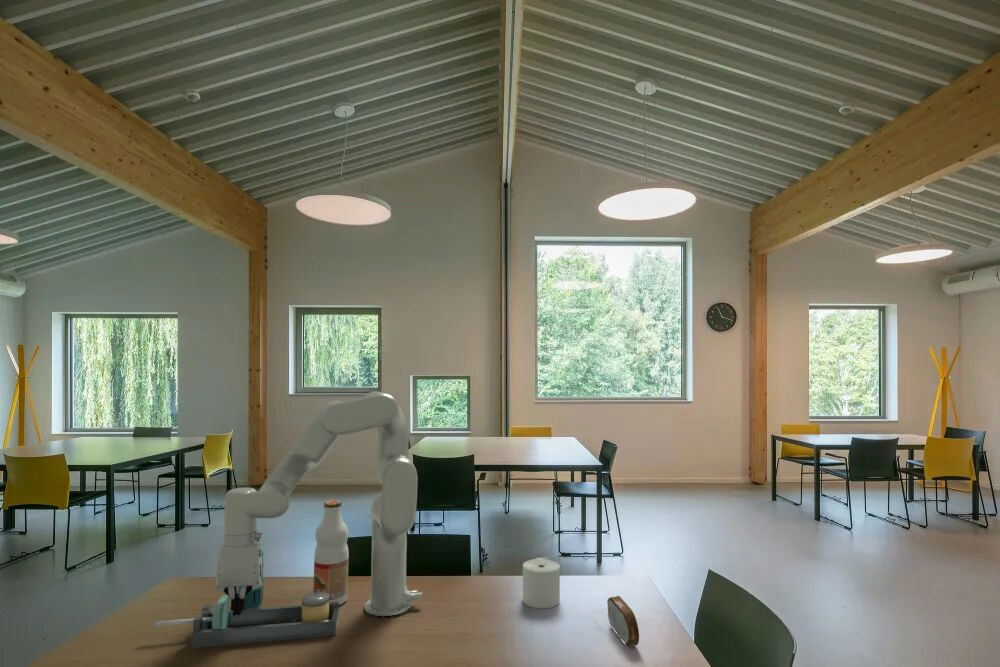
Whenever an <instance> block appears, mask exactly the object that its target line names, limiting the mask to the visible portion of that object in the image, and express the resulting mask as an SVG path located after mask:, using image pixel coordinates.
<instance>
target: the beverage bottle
mask: <svg viewBox="0 0 1000 667" xmlns="http://www.w3.org/2000/svg"><path fill="white" fill-rule="evenodd" d="M256 541H259V542H261V541H260V538H259V539H257V540H256ZM261 555H262V576H261V582H262V585H261V587H260V588H258V589H254V590H251V591H250V592H249V593H248V594H247V595H246V596H245V609H256V608H261V606H262V605H263V602H264V601H263V600H264V566H265V565H264V550H263V549H262V548H261ZM240 591H241V586H238V587H237V593H238V594H239V595H240Z"/></svg>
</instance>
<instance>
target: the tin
mask: <svg viewBox="0 0 1000 667" xmlns="http://www.w3.org/2000/svg"><path fill="white" fill-rule="evenodd" d="M606 602H607V617H608V621H609V625H610V627H611V626H612V627H613V628H614V629H615V631H616V632H617V634H618V635H619V636H620V638H621V639H622V640H623V641H624V642H625V644H626V646H625V647H633V646H635V645H636V646H638V644H639V642H640V631H639V624H638V621H637V618H636V614H635V613H634V611H633V609H632V608H631V607H629V605H628V604H627V603H626V602H625V600H624V599H623V598H622V597H621V596H619V595H617V596H611V597H609V598H608V599H607V601H606ZM612 627H611V628H612ZM617 634H616V635H617ZM620 638H619V639H620ZM632 645H633V646H632Z"/></svg>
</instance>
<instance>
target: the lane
mask: <svg viewBox="0 0 1000 667" xmlns="http://www.w3.org/2000/svg"><path fill="white" fill-rule="evenodd" d="M211 610H212V604H211V603H207V604H204V605H203V607H202V608H201V614H200V615H196V616H195V617H194V618H195V619H194V618H193V619H194V620H193V623H192V632H191V633H190V635H191V636H190V649H201V648H202V649H203V648H210V647H211V648H212V647H223V646H236V645H245V644H246V645H247V644H256V643H268V642H279V641H289V640H290V641H291V640H302V639H312V638H325V637H334V636H333V635H337V630H336V629H338V624H339V618H340V606H339V602H333V603H329V617H332V618H330V619H329V620H319V621H307V622H302V604H298V605H297V604H296V605H294V604H293V605H284V606H282V605H281V606H270V607H258V608H256V609H244V610H243V611H242V613H241V614H240V615H235V616H233V611H231V609H229V616H228V627H227V628H223V629H212V622H203V618H207V617H212V616H213V611H211ZM338 617H339V618H338ZM294 620H300V621H294ZM286 621H288V622H286ZM284 622H285V623H284ZM337 623H338V624H337ZM248 625H249V626H248Z"/></svg>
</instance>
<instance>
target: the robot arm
mask: <svg viewBox="0 0 1000 667" xmlns="http://www.w3.org/2000/svg"><path fill="white" fill-rule="evenodd" d="M375 428H376V430H377V459H376V467H375V475H376V479H377V481H378V482H379V484H380V485H381V492H380V493H379V494H378V495H377V496H376V497H375V498H374V499H373V501H372V502H371V503H372V504H371V506H370V524H371V564H370V565H371V568H370V569H371V572H370V574H371V575H370V577H371V578H370V580H371V581H370V585H371V586H370V599H368V600H367V601H366V602H365V604H364V610H365V612H366V613H367V614H368V613H369V614H368V615H370V614H371V615H370V616H373V615H375V616H374V617H377V616H391V615H397V614H400V613H403V612H405V611H406V612H408V611H409V610H410V609H411V607H412V601H423V592H418V589H415V590H409V589H408V586H407V548H408V547H407V545H408V544H407V543H408V540H407V538H408V537H407V533H408V532H409V531H410V530H411V529H412V527H413V526H414V523H415V520H416V516H417V515H416V514H417V504H418V502H417V501H418V486H419V485H418V484H419V483H418V478H419V477H418V472H417V468H416V467H415V464H414V463H413V462H412V461H411V460H409V440H410V439H409V426H408V421H407V418H406V415H405V414H404V412H403V410H402V408H401V406H399V405H398V401H397V400H396V398H394V397H393V395H391V394H388V393H387V392H382V391H376V390H375V391H374V390H373V391H370V392H368V393H366V394H365V395H364V396H363V397H362V398H357V399H354V400H353V399H352V400H349V401H347V400H346V401H340V400H332V401H328V402H327V403H326V404H325V405H323V406H322V408H321V409H320V410H319V411H318V413H317V414H316V415H315V416H314V418H313V419H312V420H311V422H310V423H309V424H308V426H307V427H306V429H305V430H304V431H303V432H302V434H301V435H300V436H299V438H298V439H297V440H296V442H295V443H294V444H293V446H292V447H291V448H290V449H289V451H287V453H286V454H285V455H284V457H283V458H282V459H281V460H280V461H279V463H278V464H277V465H276V466H275V468H273V470H272V471H271V473H270V474H269V476H268V477H267V479H265V481H264V482H263V484H262V485H261V487H260V489H259V490H256V489H255V488H253V487H235V488H232V489H229V490H228V491H227V492H226V494H225V496H224V517H223V519H224V520H223V521H224V522H223V543H222V544H221V545H220V548H219V551H218V558H217V563H216V570H215V571H216V572H215V588H214V590H215V591H216V592H218V593H219V592H220V593H224V594H225V595H228V596H229V600H230V610H231V611H233V616H235V615H240V614H241V613H242V611H243V610H244V609H245V596H246V595H247V594H248V593H249V592H250V591H251V590H254V589H258V588H260V587H261V585H262V582H261V576H262V555H261V549H262V548H261V543H260V542H261V541H260V539H263V532H258V528H257V527H258V526H257V524H258V523H257V522H258V519H276V518H280V517H282V516H283V515H285V514H286V513H287V512H288V510H289V507H290V504H291V502H290V494H292V491H293V490H294V489H295V487H296V486H297V484H298V483H300V481H301V479H303V477H305V475H306V474H307V473H309V471H311V470H313V469H315V468H317V467H318V466H319V465H320V464H321V463H322V462H323V461H324V459H326V457H327V455H328V454H329V453H330V451H331V450H332V448H333V447H334V445H335V444H336V442H338V440H339V439H340V437H342V436H345V435H346V436H347V435H352V434H355V433H360V432H364V431H368V430H372V429H375ZM257 539H259V541H260V542H259V541H256V540H257ZM238 586H241V591H240V595H239V594H238V592H237V591H238V590H237V589H238ZM409 608H410V609H409ZM408 609H409V610H408ZM407 610H408V611H407ZM406 612H405V613H406ZM403 614H404V613H403ZM400 615H401V614H400ZM397 616H398V615H397ZM391 617H392V616H391Z"/></svg>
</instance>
